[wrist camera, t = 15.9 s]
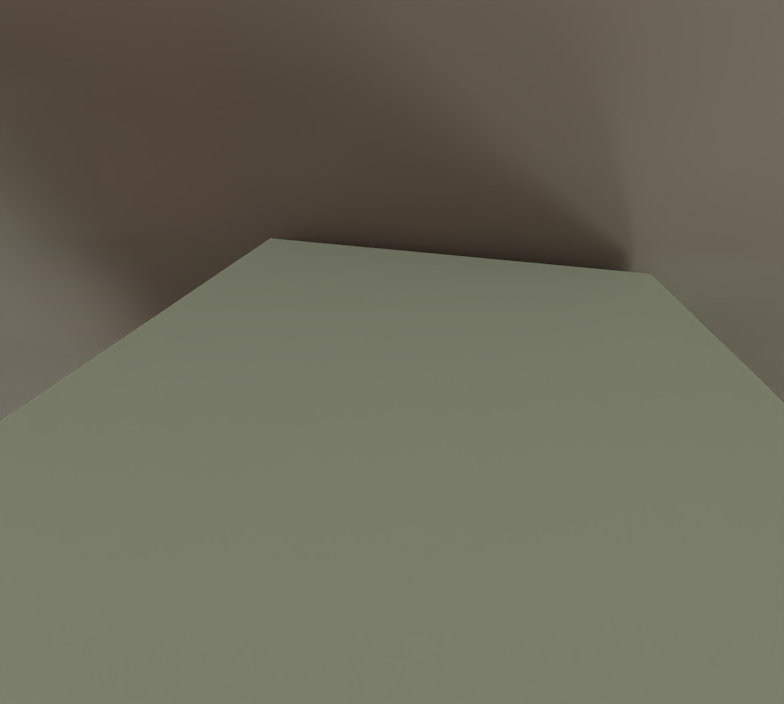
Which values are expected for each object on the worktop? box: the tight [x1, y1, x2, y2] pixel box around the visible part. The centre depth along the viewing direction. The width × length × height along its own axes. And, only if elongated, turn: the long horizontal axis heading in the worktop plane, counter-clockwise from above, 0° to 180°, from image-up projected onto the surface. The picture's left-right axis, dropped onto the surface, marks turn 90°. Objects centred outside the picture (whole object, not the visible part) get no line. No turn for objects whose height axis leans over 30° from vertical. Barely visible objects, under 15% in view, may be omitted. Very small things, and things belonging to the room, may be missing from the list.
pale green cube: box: [0, 238, 784, 704], centre depth 7 cm, size 8×8×9 cm
